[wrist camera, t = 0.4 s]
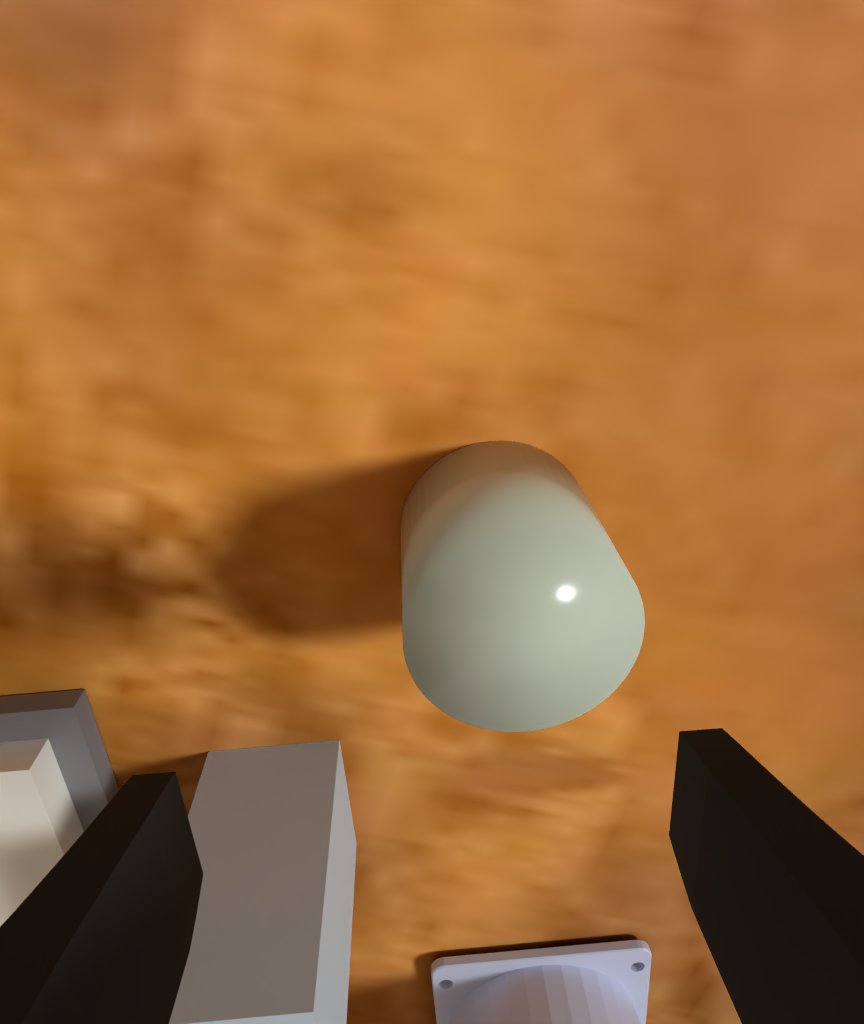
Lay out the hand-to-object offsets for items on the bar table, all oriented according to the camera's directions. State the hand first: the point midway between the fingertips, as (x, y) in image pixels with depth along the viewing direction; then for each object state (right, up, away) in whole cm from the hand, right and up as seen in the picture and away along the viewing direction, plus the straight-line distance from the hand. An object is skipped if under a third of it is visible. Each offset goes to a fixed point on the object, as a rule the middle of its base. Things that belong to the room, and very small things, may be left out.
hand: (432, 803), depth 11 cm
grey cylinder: (+2, +4, +9) cm, 10 cm away
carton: (-5, -5, +13) cm, 15 cm away
